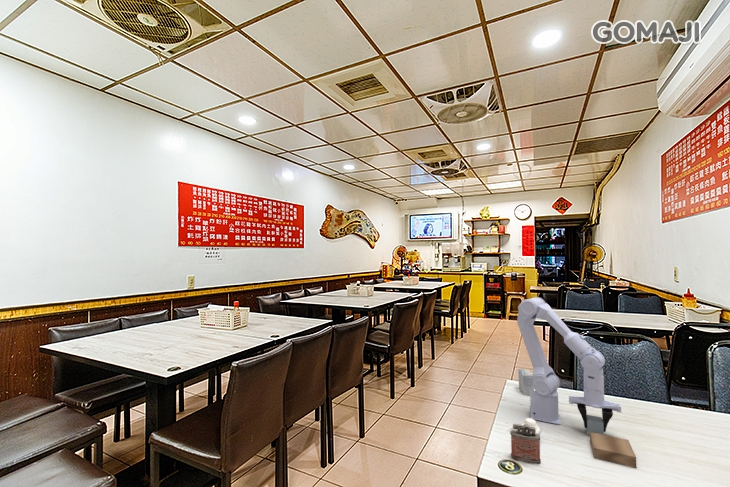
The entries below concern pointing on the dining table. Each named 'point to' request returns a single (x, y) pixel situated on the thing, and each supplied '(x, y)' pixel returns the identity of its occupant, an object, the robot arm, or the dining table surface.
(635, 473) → the dining table surface
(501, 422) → the dining table surface
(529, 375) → the medicine box
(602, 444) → the walnut block
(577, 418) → the dining table surface
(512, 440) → the lighter
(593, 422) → the slate cube
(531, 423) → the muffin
